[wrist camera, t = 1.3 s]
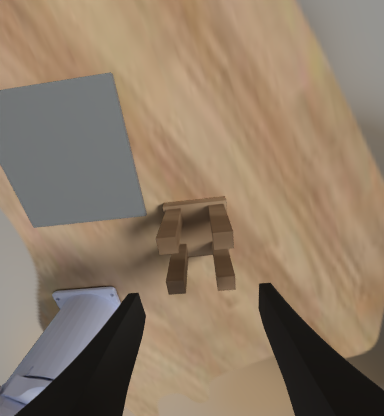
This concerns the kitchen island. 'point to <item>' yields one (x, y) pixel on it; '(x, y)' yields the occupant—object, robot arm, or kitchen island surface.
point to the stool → (196, 240)
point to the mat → (69, 152)
